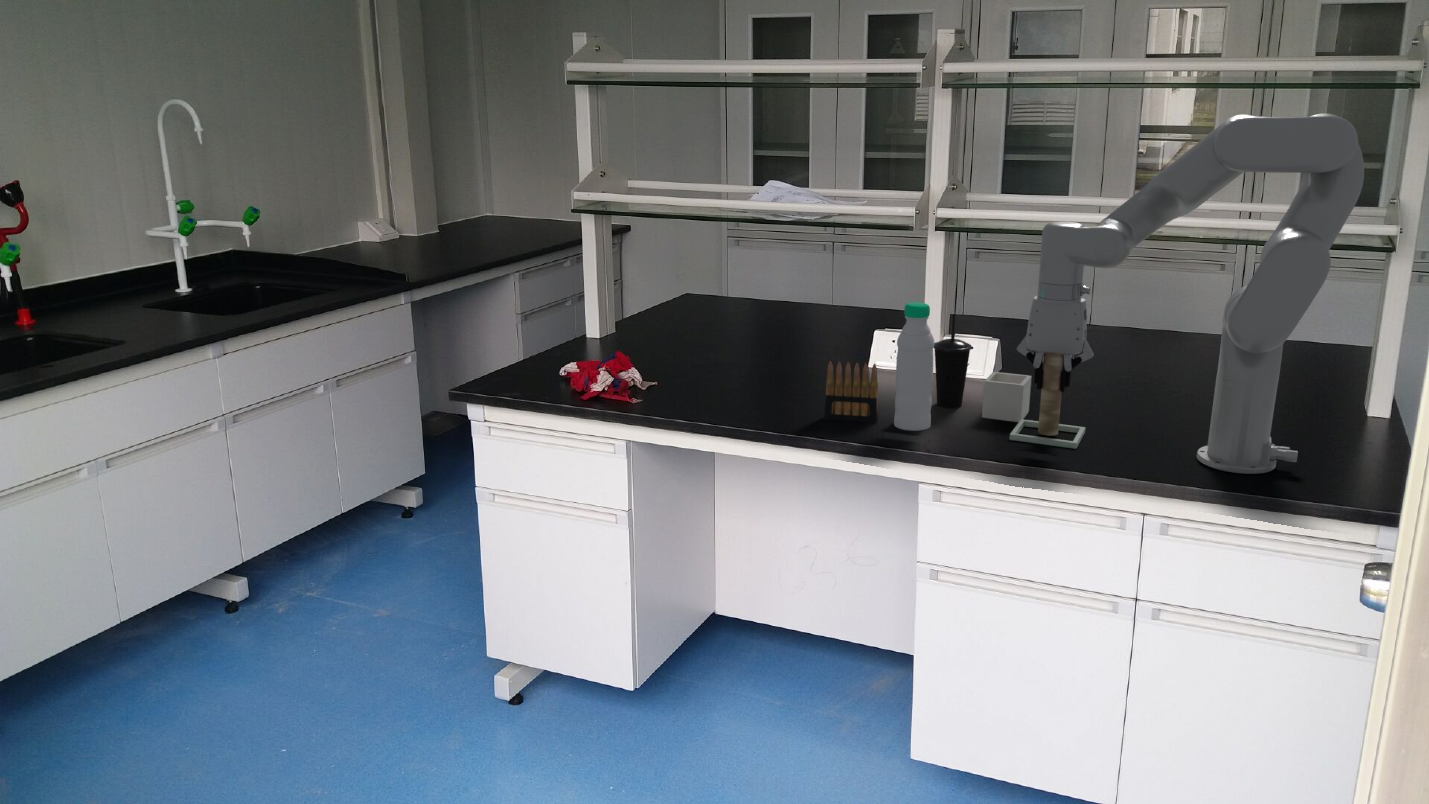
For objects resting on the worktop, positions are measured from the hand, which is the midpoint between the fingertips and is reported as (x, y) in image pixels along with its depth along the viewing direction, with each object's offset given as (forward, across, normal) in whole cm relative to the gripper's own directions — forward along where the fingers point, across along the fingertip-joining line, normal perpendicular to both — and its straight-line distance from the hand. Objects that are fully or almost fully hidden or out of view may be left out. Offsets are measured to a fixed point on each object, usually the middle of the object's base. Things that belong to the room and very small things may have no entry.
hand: (1051, 387), depth 195 cm
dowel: (+9, 0, 0) cm, 9 cm away
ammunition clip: (+11, +38, +3) cm, 40 cm away
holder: (+10, +10, -10) cm, 18 cm away
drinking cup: (+11, +22, -12) cm, 27 cm away
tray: (+10, 0, 0) cm, 10 cm away
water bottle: (+11, +25, +4) cm, 27 cm away
